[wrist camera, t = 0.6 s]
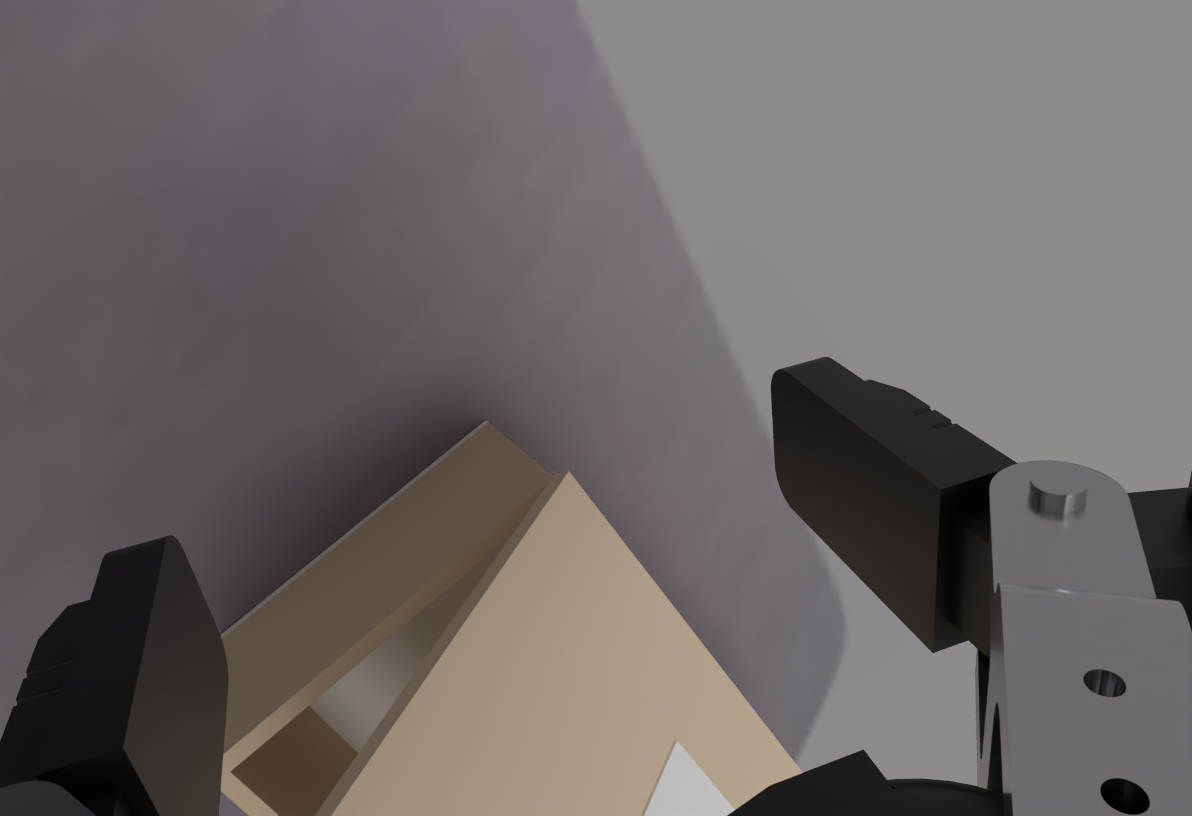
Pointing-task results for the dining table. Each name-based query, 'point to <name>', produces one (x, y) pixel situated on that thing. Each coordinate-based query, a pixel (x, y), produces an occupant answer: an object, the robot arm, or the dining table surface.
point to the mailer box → (363, 624)
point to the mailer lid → (564, 695)
